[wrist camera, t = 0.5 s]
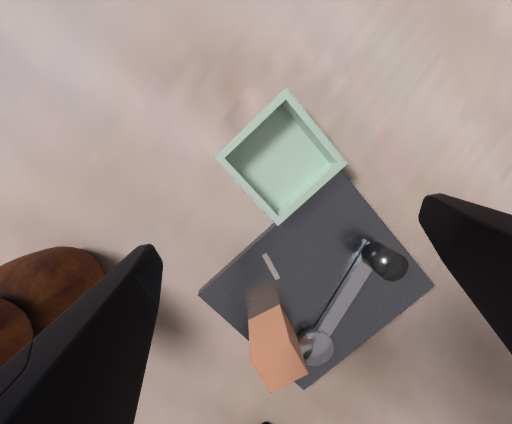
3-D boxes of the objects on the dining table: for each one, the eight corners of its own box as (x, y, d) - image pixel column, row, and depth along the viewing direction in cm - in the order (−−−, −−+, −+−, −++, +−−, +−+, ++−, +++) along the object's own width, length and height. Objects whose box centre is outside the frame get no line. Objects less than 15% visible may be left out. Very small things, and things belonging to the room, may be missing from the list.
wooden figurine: (32, 255, 22) (-381, 439, 7) (85, 226, 22) (-231, 356, 7) (77, 312, 24) (-194, 560, 9) (128, 285, 23) (-64, 495, 9)
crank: (319, 362, 25) (332, 395, 22) (289, 350, 25) (297, 382, 21) (392, 248, 23) (420, 264, 19) (361, 232, 22) (383, 245, 19)
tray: (336, 163, 22) (347, 163, 20) (273, 219, 23) (277, 226, 20) (281, 96, 21) (286, 87, 18) (216, 158, 21) (213, 157, 19)
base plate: (427, 280, 25) (434, 285, 24) (301, 381, 27) (303, 390, 26) (334, 168, 22) (339, 168, 21) (199, 289, 24) (197, 295, 23)
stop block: (295, 331, 24) (308, 374, 19) (264, 346, 24) (270, 392, 20) (279, 304, 24) (289, 341, 19) (248, 320, 24) (250, 361, 19)
